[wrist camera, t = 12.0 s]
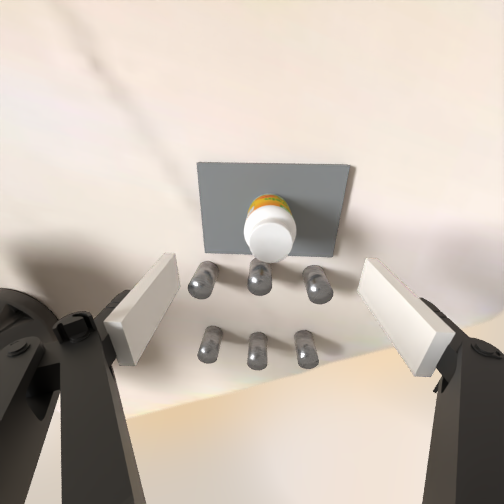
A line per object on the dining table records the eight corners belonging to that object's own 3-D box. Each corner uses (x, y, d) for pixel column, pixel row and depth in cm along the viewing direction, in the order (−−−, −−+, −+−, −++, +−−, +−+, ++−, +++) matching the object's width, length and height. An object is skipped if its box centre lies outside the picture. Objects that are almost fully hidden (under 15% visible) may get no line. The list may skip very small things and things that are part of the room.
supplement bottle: (297, 203, 28) (312, 229, 19) (278, 239, 30) (284, 277, 21) (258, 185, 27) (255, 204, 18) (241, 224, 29) (232, 257, 20)
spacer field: (206, 342, 41) (198, 366, 36) (196, 255, 33) (185, 272, 28) (310, 347, 40) (316, 373, 36) (326, 259, 32) (336, 278, 28)
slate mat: (206, 249, 32) (205, 252, 31) (198, 162, 27) (196, 162, 26) (330, 254, 32) (332, 257, 31) (347, 164, 26) (350, 165, 25)
